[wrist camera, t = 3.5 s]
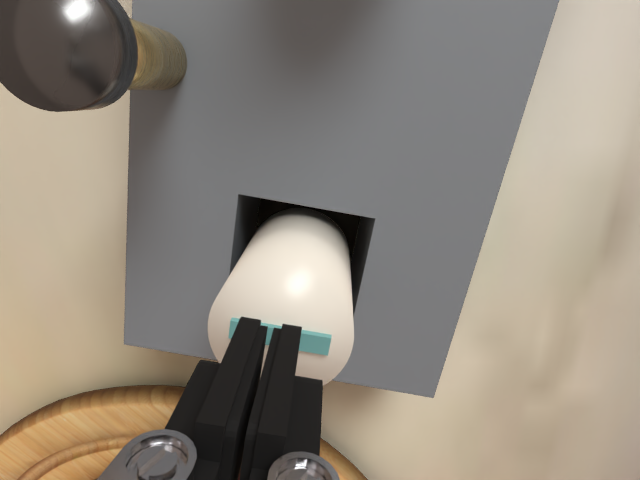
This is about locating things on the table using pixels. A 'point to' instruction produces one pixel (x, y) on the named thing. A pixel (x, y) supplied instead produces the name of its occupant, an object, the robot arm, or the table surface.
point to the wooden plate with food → (100, 434)
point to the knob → (292, 290)
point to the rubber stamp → (82, 53)
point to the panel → (328, 159)
